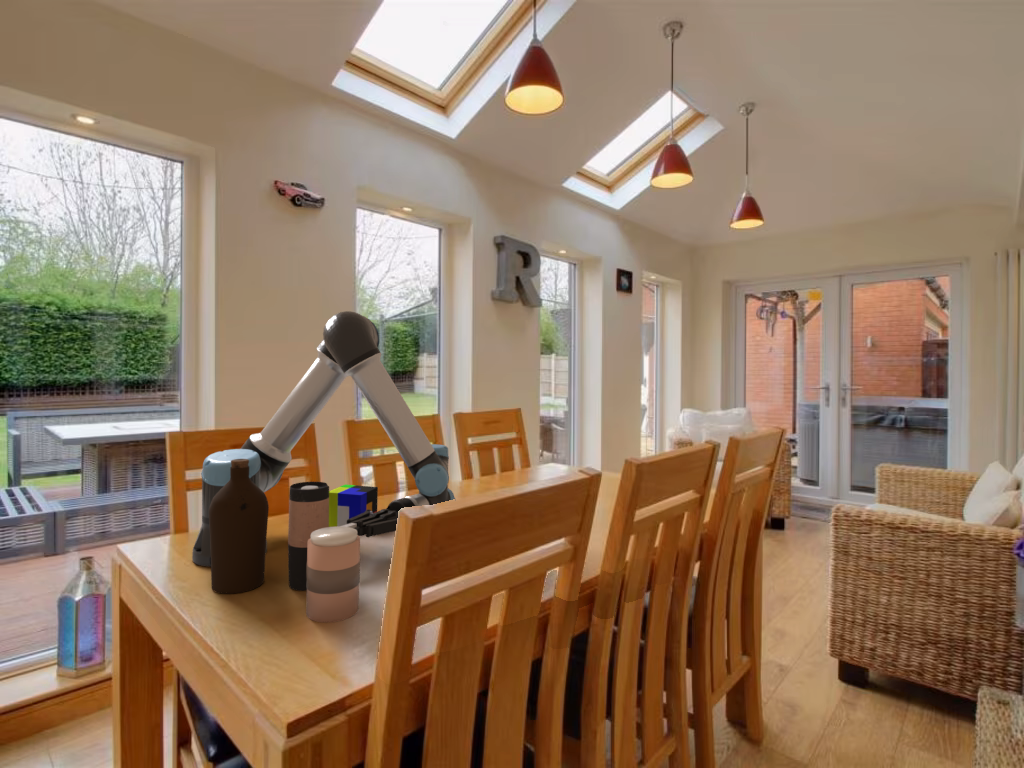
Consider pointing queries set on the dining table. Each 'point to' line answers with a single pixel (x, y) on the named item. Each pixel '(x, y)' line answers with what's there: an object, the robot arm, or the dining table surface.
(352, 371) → the robot arm
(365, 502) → the puzzle toy
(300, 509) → the travel mug
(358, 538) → the terracotta canister
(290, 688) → the dining table surface
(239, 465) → the olive oil
